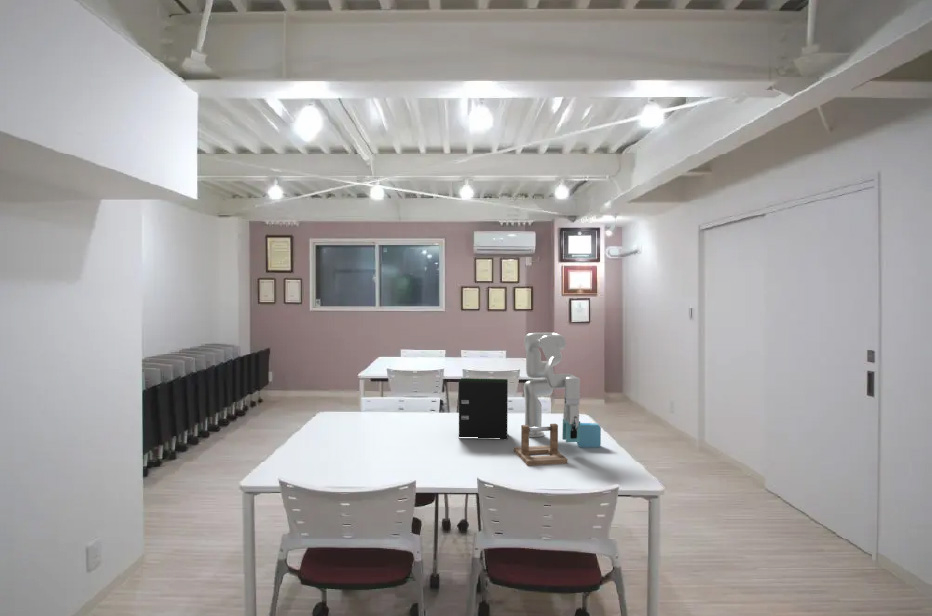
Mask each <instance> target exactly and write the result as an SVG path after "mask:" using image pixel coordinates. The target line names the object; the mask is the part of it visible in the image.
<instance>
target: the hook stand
mask: <svg viewBox="0 0 932 616" xmlns="http://www.w3.org/2000/svg"><path fill="white" fill-rule="evenodd" d="M520 429H521V434H520V435H521V436H520V437H521V439H520V440H521V441H520V444H521V445H520V446H517V447H516V446H514V447H513V452H514V453H515V454H516V455H517V456H518V457H519V458H520V459H521V460H522V462H523V463H524V464H525V465H526V466H541V465H559V464H560V465H561V464H568V458H567V457H566V456H564V455H563V454H562V453H561V452H560V451H558V449H559V425H558V424H557V423H550V424H549V426H541V427H529V426H528V425H525V424H522V425H521V428H520ZM531 431H542V432H547V431H548V432H549V445H535V446H533V445H532V446H530V437H529V432H531ZM541 454H543V455H541ZM545 454H548V455H545ZM531 455H534V456H531Z"/></svg>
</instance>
